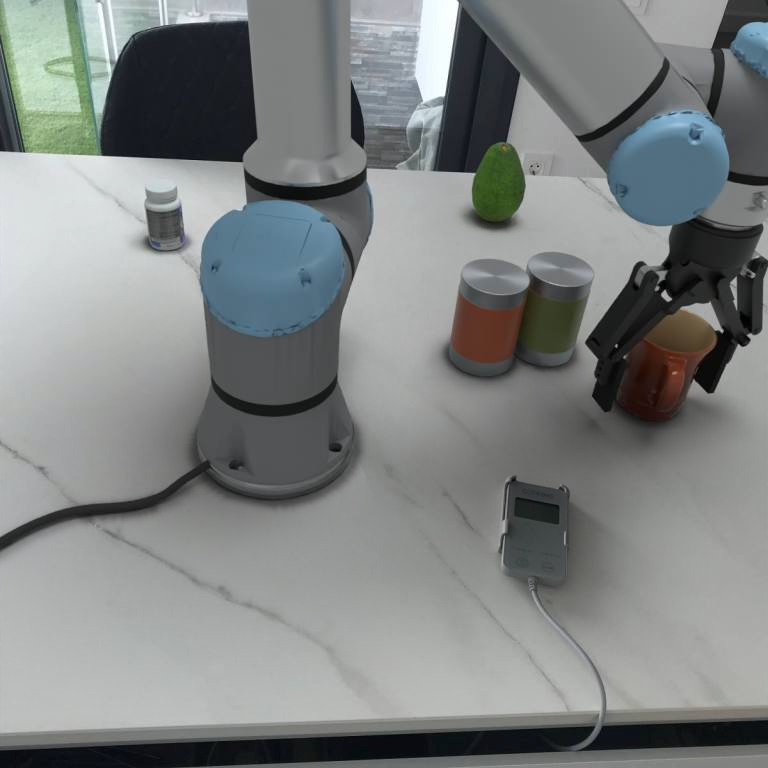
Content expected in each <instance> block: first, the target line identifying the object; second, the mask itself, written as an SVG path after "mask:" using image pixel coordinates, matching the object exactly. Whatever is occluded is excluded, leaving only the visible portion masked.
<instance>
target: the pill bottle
mask: <svg viewBox="0 0 768 768" xmlns="http://www.w3.org/2000/svg"><path fill="white" fill-rule="evenodd" d="M144 190H145V197H146V198H145V200H144V202H143V203H144V204H143V205H144V211H145V212H144V213H145V219H146V225H147V233H148V240H149V244H150V246H151V247H152V248H154V249H156V250H159V251H175V250H178V249H180V248H182V247H183V246H184V244H185V242H186V233H185V225H184V215H183V206H182V199H181V198H180V197H179V195H178V185H177V183H176V181H173V180H171V179H166V178H158V179H153V180H149V181H148V182H147V183H145V186H144Z"/></svg>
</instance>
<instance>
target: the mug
mask: <svg viewBox="0 0 768 768" xmlns="http://www.w3.org/2000/svg"><path fill="white" fill-rule="evenodd" d="M715 331H716V330H715V328H714V327H713V326H712V325H711V324H710V322H708V321H707V320H706V319H704V318H703V317H702V316H700V315H698V314H697V313H695V312H692V311H690V310H688V309H685V308H683V307H681V308H680V309H679V310H678V311H677V312H676V313H675V314H673V315H667V316H666V317H665V318H664V319H663V320H662V321H661V322H660V323H659V324H658V325H656V326H655V327H654V328H653V329H652V330H651V331H650V332H649V333H648V334H647V335H646V336H645V337H644V338H643V339H642V340H641V341H640V342H639V343H638V344H637V345H636V346H635V347H634V348H633V349H632V350H631V351H629V352H628V353H627V354H626V355H625V356H624V357H623V358H624V359H625V360H626V361H627V362H628V363H627V366H626V369H625V372H624V374H623V377H622V380H621V383H620V386H619V389H618V392H617V395H616V398H615V399H616V400H617V402H618V403H619V405H620V406H621V407H622V408H623V409H624V410H625V411H627V412H628V413H630V414H631V415H632V416H634V417H637V418H639V419H643V420H647V421H657V422H659V421H665V420H668V419H670V418H672V417H674V416H675V415H677V413H678V412H679V410H681V408H682V406H683V405H684V403H685V402H686V400H687V398H688V394H689V392H690V389H691V387H692V384H693V381H694V376H695V373H696V371H697V368H698V366H699V365H700V363H701V362H702V360H703V359H704V358H705V357H706V356H707V355H708V354H709V353H710V351H711V350H712V349H713V348H714V347H715V345H716V343H717V334H716V332H715Z"/></svg>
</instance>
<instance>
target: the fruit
mask: <svg viewBox="0 0 768 768" xmlns="http://www.w3.org/2000/svg"><path fill="white" fill-rule="evenodd" d="M524 172H525V171H524V169H523V166H522V163H521V158H520V156H519V154H518V152H517V150H516V148H515V147H514V145H513V144H511V143H508V142H504V141H500V142H497V143H495V144H492V145H491V146H490V147H489V148H488V149H487V151H486V152H485V154H484V156H483V158H482V159H481V162H480V163H479V166H478V167H477V169H476V172H475V174H474V176H473V179H472V185H471V201H472V204H473V208H474V210H475V212H476V213H477V214H478V215H479V217H480V218H481V219H483V220H485V221H487V222H493V223H496V222H502V221H504V220H507V219H509V218H511V217H512V216H513V215H514V214H515V213H516V212H517V211H519V209H520V207H521V205H522V203H523V201H524V197H525V192H526V188H527V187H526V186H527V185H526V176H525V173H524Z"/></svg>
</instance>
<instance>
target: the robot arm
mask: <svg viewBox="0 0 768 768" xmlns="http://www.w3.org/2000/svg"><path fill="white" fill-rule="evenodd" d="M456 1H457V2H458V3H459V5H460V6H461V7H462V8H463V10H465V11H466V13H467V14H468V15H469V17H471V19H473V21H474V22H475V23H476V24H477V25H478V26H479V27H480V29H481V30H482V31H483V32H484V33H485V35H486V36H487V37H488V38H489V39H490V40H491V41H492V42H493V44H494V45H495V46H496V47H497V49H498V50H499V51H501V53H502V54H503V55H504V57H506V59H507V60H508V61H509V62H510V63H511V65H512V66H513V67H514V68H515V69H516V70H517V72H518V73H520V74H521V76H522V77H523V79H525V80H526V82H527V83H528V84H529V85H530V86H531V87H532V89H533V90H534V91H535V92H536V93H537V94H538V95H539V96H540V98H541V99H542V100H543V101H544V102H545V103H546V104H547V106H548V107H549V108H550V109H551V110H552V112H553V113H554V114H555V115H556V116H557V117H558V118H559V120H561V122H562V123H563V124H564V125H565V126H566V128H567V129H568V130H569V131H570V132H571V133H572V135H573V136H574V137H575V138H576V139H577V141H578V143H579V144H580V145H581V147H582V148H583V149H584V150H585V151H586V152H587V153H588V154H589V156H590V157H591V158H592V159H593V160H594V161H595V163H597V165H598V166H599V167H600V168H601V170H603V172H604V173H605V175H606V182H607V186H608V187H609V192H610V193H611V194H612V196H613V198H614V200H615V201H616V203H617V205H618V206H619V208H620V209H621V210H622V211H623V212H624V214H625V215H627V216H628V217H630V218H631V219H632V220H634V221H636V222H638V223H641V224H644V225H646V226H647V225H648V226H652V227H670V226H671V229H670V232H669V235H668V249H669V250H668V255H667V256H666V257H665V259H664V260H663V261H662V262H661V264H660V265H648V264H647V263H646V262H645V261H643V260H639V261H637V262H635V264H634V266H633V267H632V270H631V272H630V276H629V278H628V281H627V283H626V284H625V285H624V286H623V288H622V289H621V291H620V292H619V294H618V295H617V296H616V298H615V299H614V301H612V303H611V305H610V306H609V308H608V309H607V310H606V311H605V313H604V314H603V316H602V317H601V318H600V320H599V321H598V323H597V324H596V325H595V327H594V328H593V329H592V331H591V332H590V334H589V335H588V336H587V338H586V339H585V341H584V344H585V346H586V347H587V349H588V350H589V351H590V352H591V353H592V354H593V355H594V356H595V358H596V359H597V362H596V364H595V365H596V366H595V369H594V371H593V377H594V378H595V380H596V381H595V384H594V387H593V390H592V394H591V396H590V397H591V398H592V400H593V401H594V402H595V403H596V404H597V406H598V407H599V408H600V409H601V410H602V412H603V413H604V414H607V413H611V412H612V409H613V406H614V403H615V400H616V399H617V398H616V395H617V392H618V389H619V386H620V383H621V380H622V377H623V374H624V372H625V369H626V366H627V363H628V362H627V361H626V360H625V359H624V358H625V356H626V354H627V353H628V352H629V351H631V350H632V349H633V348H634V347H635V346H636V345H637V344H638V343H639V342H640V341H641V340H642V339H643V338H644V337H645V336H646V335H647V334H648V333H649V332H650V331H651V330H652V329H653V328H654V327H655V326H656V325H658V324H659V323H660V322H661V321H662V320H663V319H664V318H665V317H666V316H667V315H673V314H675V313H676V312H677V311H678V310H679V309H680V308H683V307H690V306H692V305H695V304H699V305H703V304H704V305H705V304H709V303H710V305H711V307H712V309H713V312H714V314H715V316H716V319H717V322H718V323H719V327H720V329H721V330H723V331H721V330H720V329H718V330H717V329H716V330H715V332H716V334H717V343H716V345H715V347H714V348H713V349H712V350H711V351H710V353H709V354H708V355H707V356H706V357H705V358H704V359H703V360H702V362H701V363H700V365H699V366H698V368H697V370H696V373H695V376H694V379H693V381H695V383H697V384H698V385H699V387H700V388H702V390H703V391H704V392H705V393H707V394H708V395H710V394H714V393H715V391H716V389H717V387H718V386H719V382H720V380H721V378H722V375H723V373H724V372H725V369H726V366H727V365H729V363H730V362H731V361H732V359H733V357H734V354H735V352H736V350H737V348H738V346H740V347H741V348H745V347H747V346H748V345H750V344H751V341H752V339H751V337H750V336H748V335H750V334H751V335H752V336H757V335H760V333H762V331H763V325H764V324H763V322H764V321H763V320H764V319H763V317H764V316H763V315H764V279H765V276H766V274H767V272H768V259H767V258H766V257H765V256H763V255H762V254H760V252H758V251H757V247H758V244H759V241H760V240H761V237H762V236H763V235H762V234H763V232H764V229H765V228H764V223H765V222H766V221H768V21H767V22H762V21H755V22H753V21H752V22H749V23H746V24H745V25H743V26H742V27H741V28H740V29H739V30H738V32H737V34H736V37H735V39H734V40H733V41H732V42H731V44H730V46H729V48H707V47H698V46H691V45H681V44H673V43H666V42H657V41H655V40H654V38H653V37H652V36H651V35H650V34H649V33H648V31H647V30H646V28H645V27H644V25H642V23H641V22H640V21H639V19H638V17H637V16H636V15H635V14H634V13H633V11H632V10H631V9H630V8H629V6H628V5H627V4H626V2H625V1H624V0H456ZM351 4H352V3H351V0H246V13H247V22H248V23H247V25H248V36H249V37H248V38H249V47H250V48H249V49H250V61H251V62H250V63H251V73H252V74H251V75H252V86H253V100H254V111H255V112H254V113H255V124H256V137H257V138H256V140H255V141H254V142H253V143H252V144H251V145H250V147H248V148H247V150H246V151H245V152H244V154H243V156H242V167H243V173H244V174H243V177H244V186H245V187H244V188H245V199H246V204H244V205H243V207H242V210H238V209H232V210H230V211H227V212H226V213H225V214H223V215H222V216H220V218H218V219H217V220H216V221H215V222H214V223H213V224H212V225H211V227H210V228H209V229H208V231H207V232H206V235H205V236H204V238H203V242H202V245H201V251H200V263H199V264H200V265H199V279H198V280H199V285H200V292H201V294H202V303H203V310H204V311H203V312H204V322H205V323H204V324H205V332H206V345H207V353H208V355H207V356H208V363H209V374H210V385H209V389H208V392H207V395H206V397H205V400H204V404H203V407H202V410H201V413H200V416H199V420H198V423H197V427H196V433H195V434H196V446H197V454H198V457H199V460H200V464H198V465H197V466H195V467H193V468H192V469H191V470H189V471H187V472H186V473H184V474H183V475H181V476H179V477H178V478H177V479H176V480H175V481H174V482H172V483H171V484H170V485H169V486H167V487H166V488H164V489H162V490H161V491H159V492H157V493H154V494H152V495H151V494H150V495H148V496H146V497H145V496H144V497H142V498H137V499H133V500H126V501H115V502H103V503H102V502H101V503H99V502H98V503H89V504H81V505H75V506H70V507H66V508H61V509H59V510H56V511H52V512H50V513H46V514H44V515H42V516H39V517H37V518H34V519H32V520H30V521H28V522H25V523H23V524H21V525H19V526H17V527H15V528H14V529H12V530H9V531H8V532H6V533H4V534H3V535H1V536H0V549H1V548H3V547H4V546H6V545H7V544H9V543H11V542H13V541H14V540H17V539H18V538H20V537H22V536H24V535H26V534H28V533H30V532H32V531H34V530H36V529H39V528H41V527H44V526H46V525H48V524H52V523H54V522H56V521H60V520H63V519H65V518H71V517H74V516H78V515H79V516H81V515H86V514H87V515H88V514H96V513H97V514H98V513H111V512H122V511H123V512H124V511H129V510H130V511H131V510H136V509H141V508H144V507H149V506H151V505H154V504H157V503H160V502H162V501H164V500H166V499H167V498H169V497H171V496H172V495H173V494H175V493H176V492H178V491H179V490H180V489H181V488H182V487H184V486H185V485H187V484H188V483H190V482H191V481H193V480H194V479H195V478H197V477H198V476H200V475H202V474H203V473H204V472H206V473H207V474H208V475H209V476H210V478H212V479H213V480H214V481H216V482H217V483H218V484H219V485H221V486H222V487H224V488H226V489H228V490H230V491H233V492H235V493H237V494H240V495H242V496H243V495H244V496H248V497H251V498H258V499H268V500H269V499H271V500H273V499H274V500H275V499H276V500H277V499H288V498H295V497H299V496H303V495H306V494H309V493H313V492H315V491H317V490H319V489H321V488H323V487H324V486H326V485H328V484H330V483H331V482H332V481H333V480H335V479H336V478H337V477H338V476H339V475H341V473H342V472H343V471H344V470H345V468H346V467H347V465H348V463H349V462H350V459H351V457H352V454H353V449H354V437H355V428H354V422H353V419H352V415H351V412H350V410H349V408H348V404H347V403H346V402H347V401H346V399H345V397H344V394H343V391H342V389H341V385H340V383H339V380H338V379H339V361H340V360H339V359H340V338H341V337H340V336H341V335H340V333H341V324H342V317H343V313H344V309H345V306H346V304H347V303H346V302H347V299H348V297H349V293H350V291H351V287H352V285H353V281H354V279H355V275H356V273H357V270H358V267H359V265H360V261H361V259H362V256H363V253H364V251H365V248H366V247H367V245H368V242H369V238H370V236H371V235H372V230H373V225H374V211H375V210H374V201H373V200H374V199H373V195H372V191H371V188H370V185H369V182H368V158H367V155H366V154H367V153H366V152H365V150H364V149H363V148H362V147H361V145H360V144H358V143H357V142H356V140H354V139H353V138H352V99H351V98H352V90H351V89H352V84H351V83H352V72H351V71H352V66H351V65H352V63H351V62H352V60H351V59H352V57H351V56H352V47H351V46H352V45H351V43H352V41H351V40H352V39H351V38H352V37H351V36H352V35H351V33H352V32H351V29H352V28H351V23H352V21H351V19H352V17H351V14H352V13H351V10H352V9H351V7H352V5H351ZM734 279H736V298H735V295H734V294H733V291H732V288H731V282H733V281H734ZM664 291H665V293H666V295H667V296H668V297H669V298H670V299H671V300H669V301H667V299H665V298H664V297H663V296H662V294H663V293H664ZM735 300H736V304H735V302H734V301H735Z"/></svg>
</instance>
